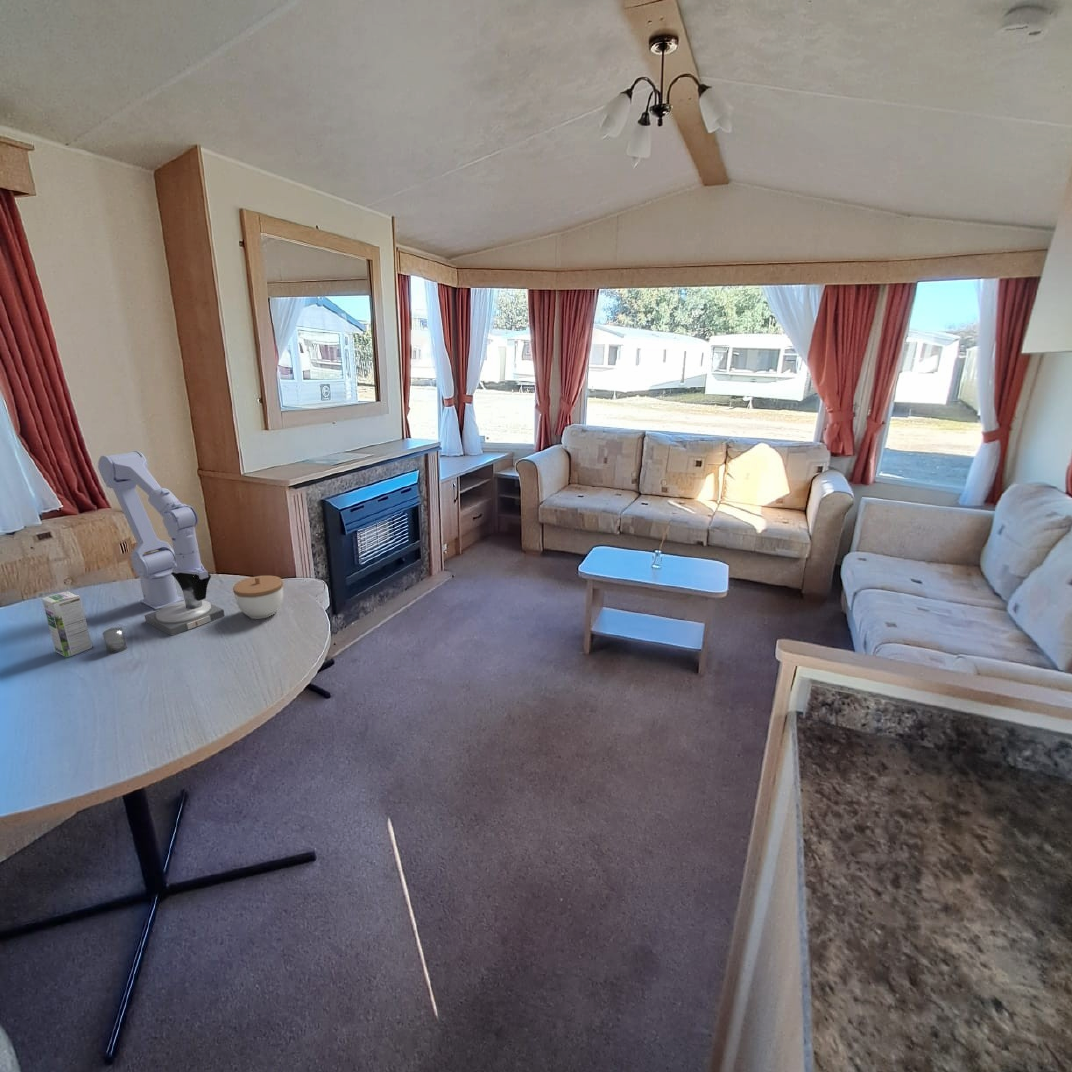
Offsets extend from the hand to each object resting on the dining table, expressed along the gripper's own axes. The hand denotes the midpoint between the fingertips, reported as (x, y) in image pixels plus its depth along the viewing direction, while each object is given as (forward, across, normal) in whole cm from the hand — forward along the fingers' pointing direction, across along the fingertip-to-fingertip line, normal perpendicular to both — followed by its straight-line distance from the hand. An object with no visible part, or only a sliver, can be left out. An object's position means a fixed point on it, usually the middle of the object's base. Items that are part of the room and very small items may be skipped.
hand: (195, 596), depth 158 cm
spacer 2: (+3, 0, -1) cm, 3 cm away
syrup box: (+6, -5, -28) cm, 29 cm away
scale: (+5, 0, -4) cm, 6 cm away
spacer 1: (+6, +3, -22) cm, 22 cm away
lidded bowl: (+6, +14, +10) cm, 18 cm away
